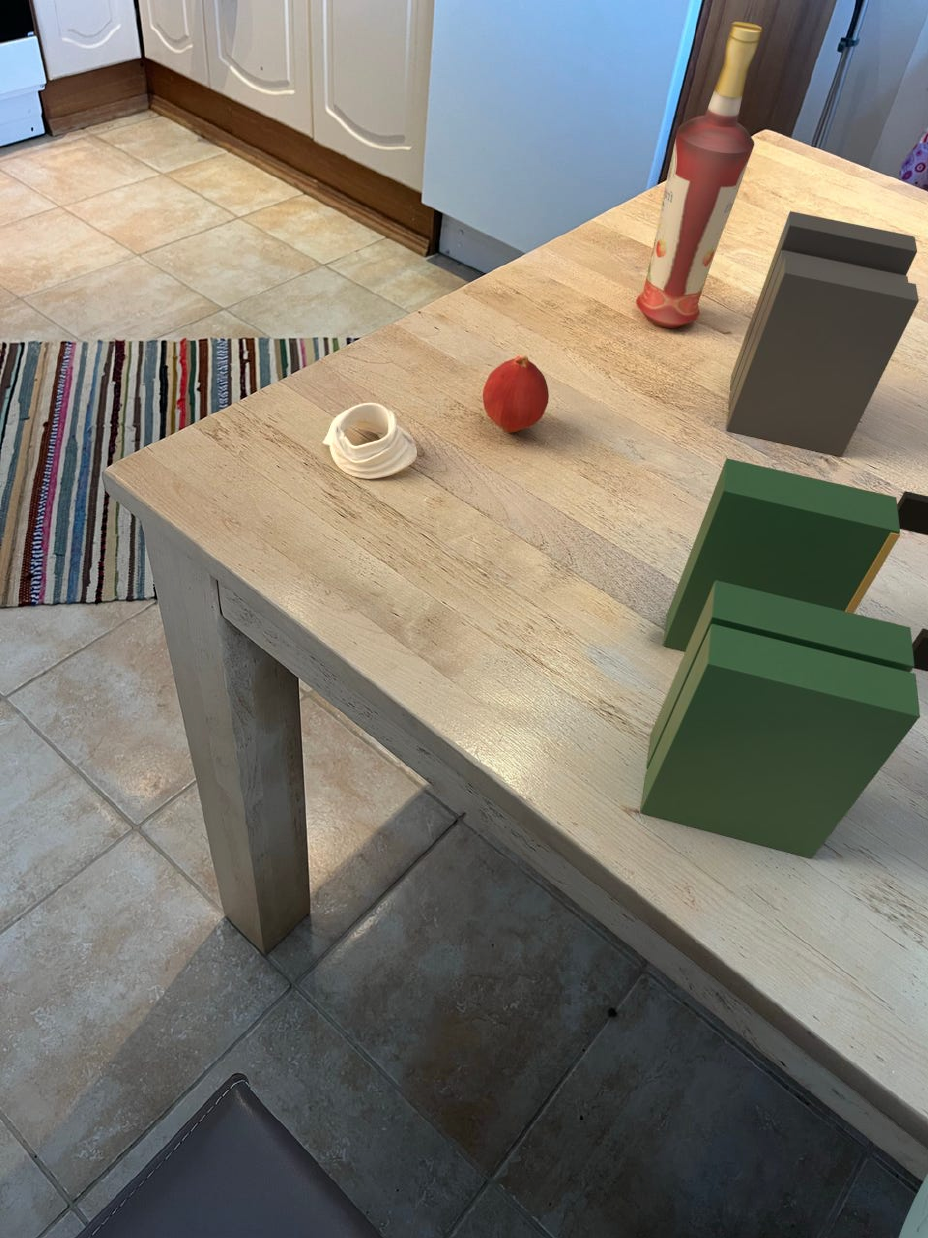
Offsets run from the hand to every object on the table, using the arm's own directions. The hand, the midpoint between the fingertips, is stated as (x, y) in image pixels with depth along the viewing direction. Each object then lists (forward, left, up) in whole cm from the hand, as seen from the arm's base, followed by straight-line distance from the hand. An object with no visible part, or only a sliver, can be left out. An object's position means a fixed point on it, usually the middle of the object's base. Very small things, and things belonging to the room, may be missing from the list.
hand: (903, 572), depth 62 cm
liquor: (+43, +26, -11) cm, 51 cm away
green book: (-1, +8, -11) cm, 13 cm away
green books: (-14, +5, -11) cm, 19 cm away
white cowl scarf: (+5, +42, -11) cm, 43 cm away
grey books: (+31, +10, -11) cm, 35 cm away
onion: (+15, +33, -11) cm, 37 cm away
